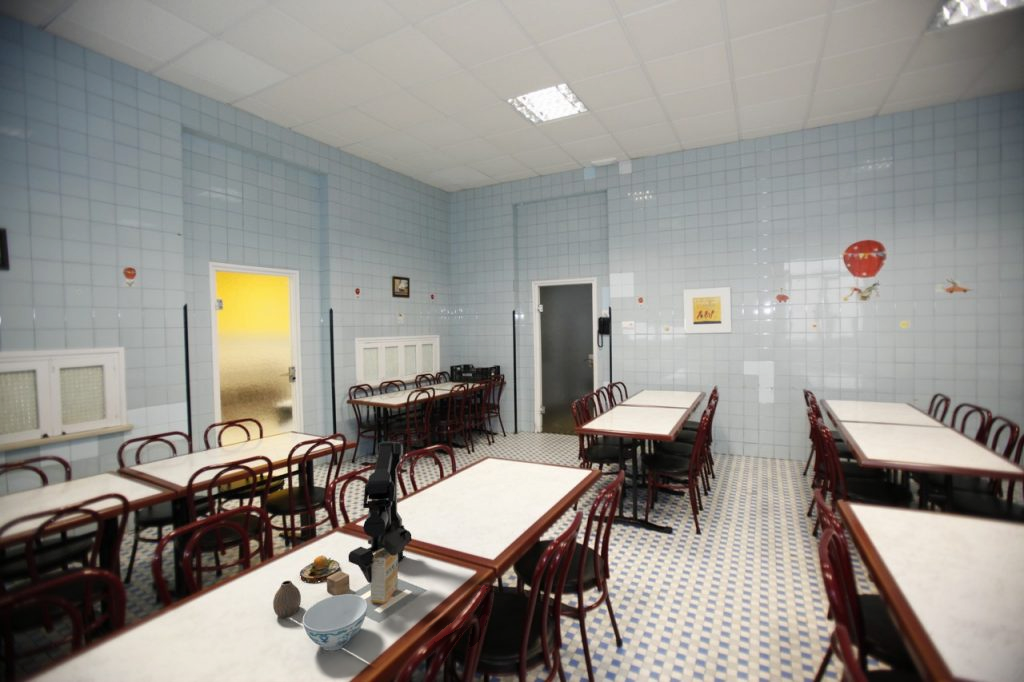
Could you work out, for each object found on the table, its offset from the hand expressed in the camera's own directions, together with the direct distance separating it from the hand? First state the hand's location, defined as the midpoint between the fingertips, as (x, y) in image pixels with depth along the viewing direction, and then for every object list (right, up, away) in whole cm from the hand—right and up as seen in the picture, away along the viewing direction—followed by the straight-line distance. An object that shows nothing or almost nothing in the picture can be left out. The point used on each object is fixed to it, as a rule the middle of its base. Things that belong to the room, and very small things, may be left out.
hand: (382, 575), depth 135 cm
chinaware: (-6, -8, -19) cm, 21 cm away
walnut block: (-14, -7, +4) cm, 16 cm away
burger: (-24, -8, +15) cm, 30 cm away
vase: (-24, -8, -6) cm, 26 cm away
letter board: (0, -7, 0) cm, 7 cm away
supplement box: (+1, -6, 0) cm, 6 cm away
